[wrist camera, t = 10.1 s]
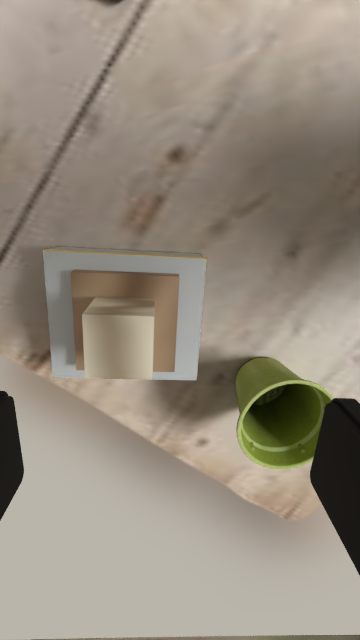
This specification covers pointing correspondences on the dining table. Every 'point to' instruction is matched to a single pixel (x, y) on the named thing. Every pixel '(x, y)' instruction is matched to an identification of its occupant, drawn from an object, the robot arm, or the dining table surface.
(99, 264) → the dock
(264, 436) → the plant pot
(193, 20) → the dining table surface
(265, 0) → the dining table surface
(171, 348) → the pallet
